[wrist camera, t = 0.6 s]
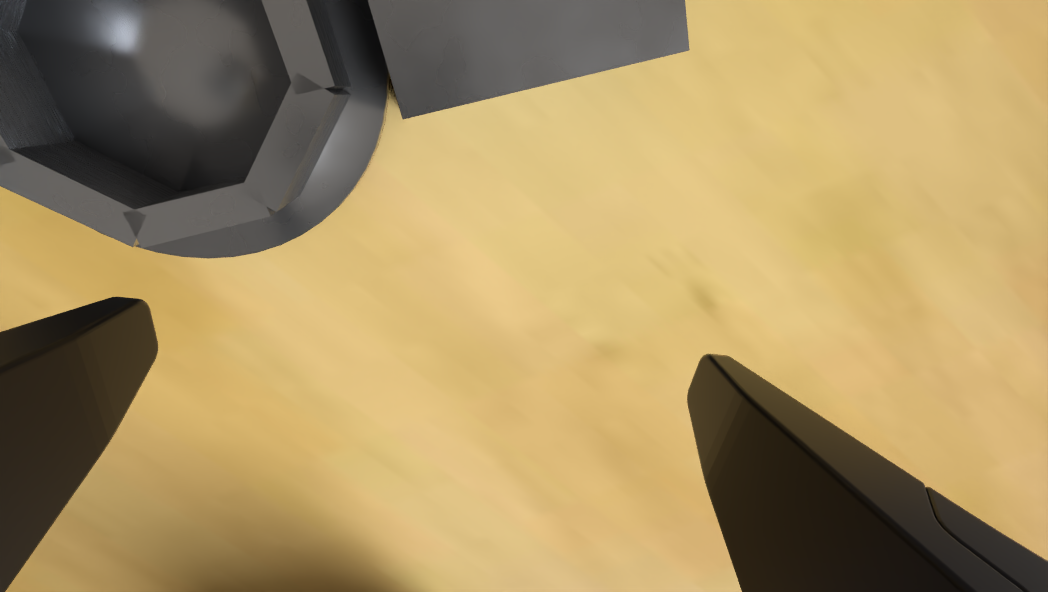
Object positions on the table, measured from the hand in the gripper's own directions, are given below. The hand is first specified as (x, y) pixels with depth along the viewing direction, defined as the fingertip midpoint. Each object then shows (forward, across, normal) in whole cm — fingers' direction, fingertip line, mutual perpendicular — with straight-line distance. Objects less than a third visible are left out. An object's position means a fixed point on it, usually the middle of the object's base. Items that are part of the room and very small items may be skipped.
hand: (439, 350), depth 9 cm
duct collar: (+14, +6, -3) cm, 16 cm away
